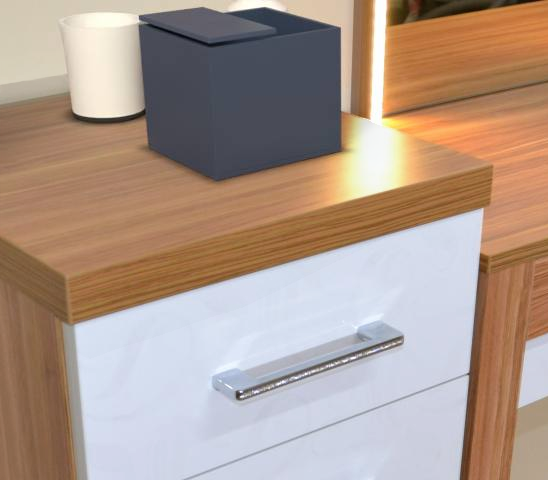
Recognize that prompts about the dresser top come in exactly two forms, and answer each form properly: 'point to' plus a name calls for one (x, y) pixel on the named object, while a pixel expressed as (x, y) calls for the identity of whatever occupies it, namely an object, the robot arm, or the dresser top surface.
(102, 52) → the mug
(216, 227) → the dresser top surface
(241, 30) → the flap
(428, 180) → the dresser top surface
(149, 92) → the carton
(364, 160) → the dresser top surface
